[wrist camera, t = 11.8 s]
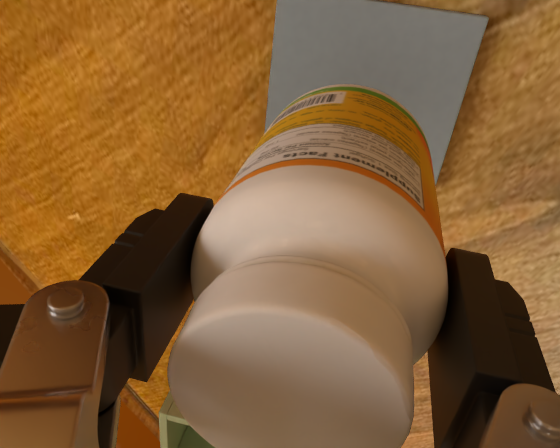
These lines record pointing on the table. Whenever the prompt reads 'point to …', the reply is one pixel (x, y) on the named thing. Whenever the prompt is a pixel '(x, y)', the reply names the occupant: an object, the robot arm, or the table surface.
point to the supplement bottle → (316, 282)
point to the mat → (378, 57)
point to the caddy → (177, 428)
